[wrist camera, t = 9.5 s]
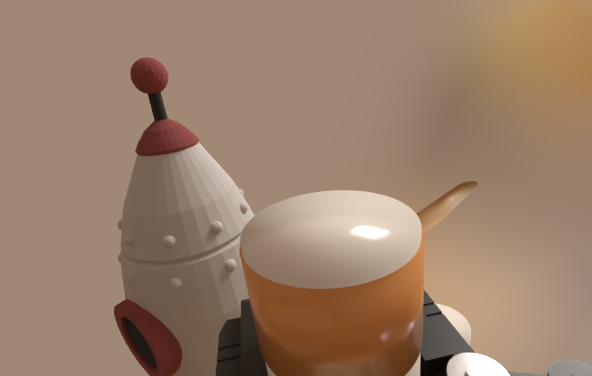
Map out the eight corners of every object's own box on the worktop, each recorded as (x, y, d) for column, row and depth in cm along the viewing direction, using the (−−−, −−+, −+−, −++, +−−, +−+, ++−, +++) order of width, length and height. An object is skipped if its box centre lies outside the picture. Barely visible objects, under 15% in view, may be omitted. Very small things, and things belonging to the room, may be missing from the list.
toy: (157, 461, 27) (-9, 77, 16) (250, 364, 35) (179, 59, 24) (253, 574, 21) (81, 52, 10) (342, 424, 28) (301, 38, 17)
